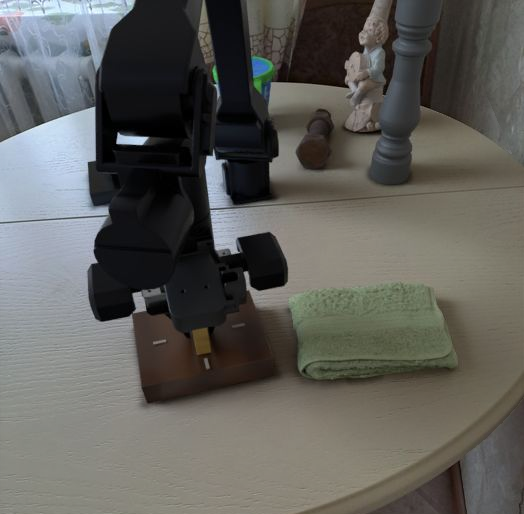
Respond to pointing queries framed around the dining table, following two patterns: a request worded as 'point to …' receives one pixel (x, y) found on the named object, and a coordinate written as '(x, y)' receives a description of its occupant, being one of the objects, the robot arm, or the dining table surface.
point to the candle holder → (404, 90)
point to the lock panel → (200, 366)
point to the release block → (102, 185)
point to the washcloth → (370, 331)
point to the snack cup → (259, 76)
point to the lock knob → (201, 341)
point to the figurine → (368, 71)
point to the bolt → (316, 140)
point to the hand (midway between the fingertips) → (199, 333)
